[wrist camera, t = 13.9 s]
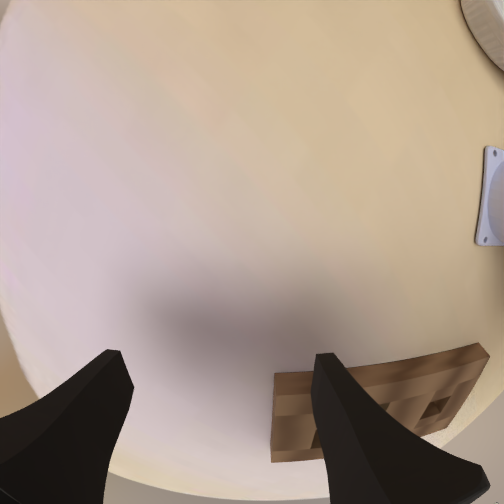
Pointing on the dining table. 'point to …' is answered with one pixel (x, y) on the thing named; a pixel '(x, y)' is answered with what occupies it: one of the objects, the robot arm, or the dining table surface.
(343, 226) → the dining table surface
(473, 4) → the ramekin
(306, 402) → the socket board
